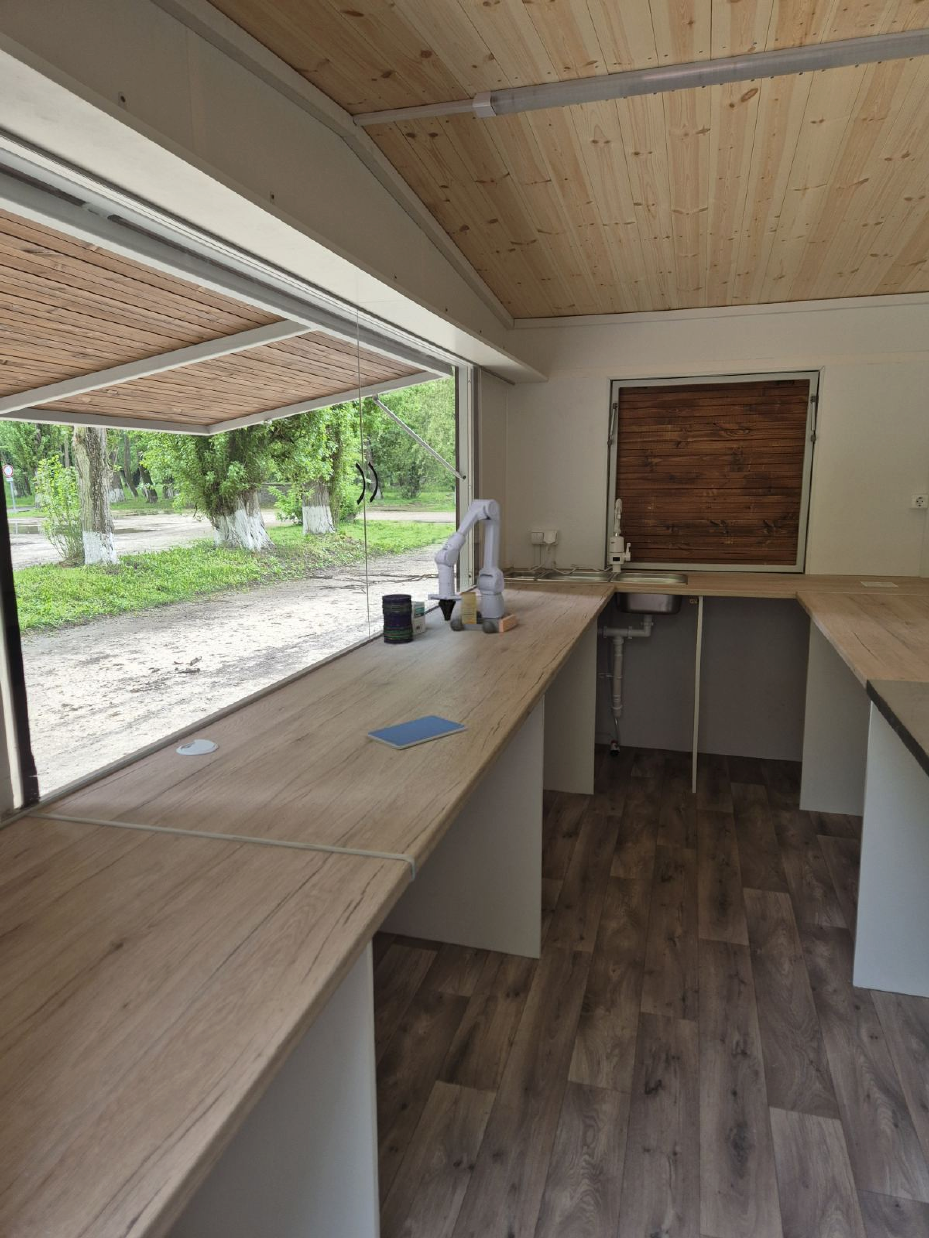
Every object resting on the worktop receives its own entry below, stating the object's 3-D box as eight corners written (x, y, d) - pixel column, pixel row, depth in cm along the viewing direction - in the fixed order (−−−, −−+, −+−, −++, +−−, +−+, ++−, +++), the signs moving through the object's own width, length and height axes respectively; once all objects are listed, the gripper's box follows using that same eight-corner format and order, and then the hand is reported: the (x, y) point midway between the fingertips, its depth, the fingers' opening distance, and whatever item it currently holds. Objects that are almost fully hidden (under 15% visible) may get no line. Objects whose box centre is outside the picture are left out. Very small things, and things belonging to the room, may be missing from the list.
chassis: (469, 621, 302) (469, 610, 301) (519, 624, 294) (519, 613, 293) (447, 630, 285) (447, 619, 284) (499, 634, 277) (499, 622, 276)
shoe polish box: (475, 624, 294) (475, 591, 292) (476, 627, 289) (475, 594, 287) (462, 625, 294) (461, 592, 292) (462, 628, 289) (461, 594, 287)
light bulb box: (426, 632, 284) (425, 601, 282) (415, 635, 278) (414, 604, 276) (401, 629, 290) (400, 599, 288) (389, 632, 284) (388, 602, 282)
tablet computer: (433, 718, 188) (432, 713, 188) (470, 731, 179) (469, 725, 178) (363, 738, 175) (363, 733, 175) (399, 753, 166) (399, 747, 166)
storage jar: (412, 644, 265) (410, 598, 262) (381, 644, 265) (379, 599, 262) (414, 637, 275) (413, 593, 272) (385, 638, 275) (383, 594, 272)
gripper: (423, 583, 292) (424, 621, 294) (460, 585, 286) (461, 623, 288) (432, 581, 298) (433, 617, 301) (468, 582, 292) (469, 620, 295)
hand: (447, 620), depth 295 cm, fingers closed
